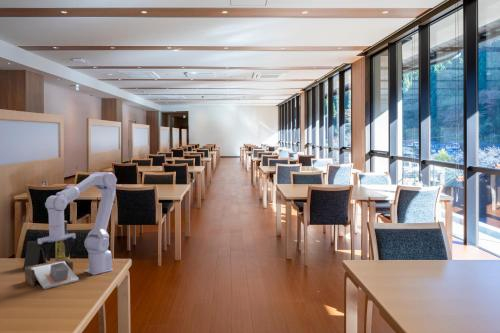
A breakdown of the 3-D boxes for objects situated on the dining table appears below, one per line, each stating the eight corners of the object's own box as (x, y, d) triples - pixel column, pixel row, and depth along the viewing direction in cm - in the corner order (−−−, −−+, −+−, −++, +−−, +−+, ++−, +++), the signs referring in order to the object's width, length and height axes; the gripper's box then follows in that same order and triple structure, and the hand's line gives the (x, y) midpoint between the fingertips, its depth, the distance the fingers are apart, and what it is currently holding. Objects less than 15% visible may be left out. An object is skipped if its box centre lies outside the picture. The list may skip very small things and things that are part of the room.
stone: (61, 272, 190) (63, 262, 188) (66, 279, 186) (68, 268, 185) (49, 275, 186) (51, 264, 184) (54, 282, 183) (56, 271, 181)
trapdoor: (30, 269, 188) (30, 267, 188) (64, 263, 198) (64, 260, 198) (43, 289, 179) (44, 286, 179) (78, 280, 189) (78, 278, 189)
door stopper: (35, 270, 206) (34, 243, 205) (23, 269, 206) (22, 243, 206) (46, 264, 215) (45, 239, 214) (34, 264, 215) (33, 239, 215)
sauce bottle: (56, 265, 213) (54, 222, 212) (54, 262, 219) (53, 220, 218) (71, 263, 216) (69, 221, 215) (69, 260, 222) (68, 219, 221)
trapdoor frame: (65, 272, 201) (65, 259, 200) (73, 276, 196) (72, 262, 195) (25, 281, 189) (24, 267, 188) (32, 285, 184) (31, 270, 183)
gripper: (42, 229, 177) (43, 263, 178) (78, 224, 187) (79, 256, 188) (35, 226, 182) (36, 260, 182) (70, 221, 192) (71, 253, 193)
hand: (57, 258), depth 186 cm, fingers open, 7 cm apart
